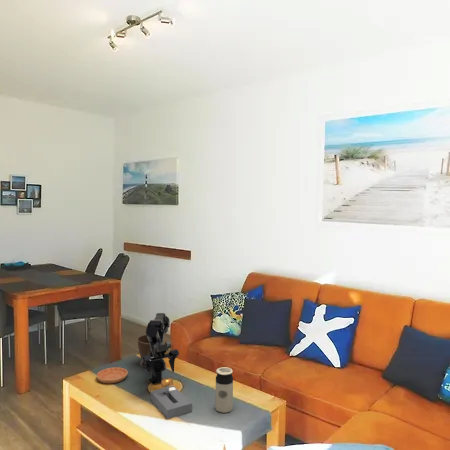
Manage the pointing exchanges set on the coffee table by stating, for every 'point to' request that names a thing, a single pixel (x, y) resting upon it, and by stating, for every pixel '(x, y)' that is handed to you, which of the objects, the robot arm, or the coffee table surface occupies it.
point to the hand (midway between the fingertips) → (164, 374)
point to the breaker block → (171, 402)
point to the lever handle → (167, 385)
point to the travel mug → (224, 390)
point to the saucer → (112, 375)
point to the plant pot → (144, 346)
